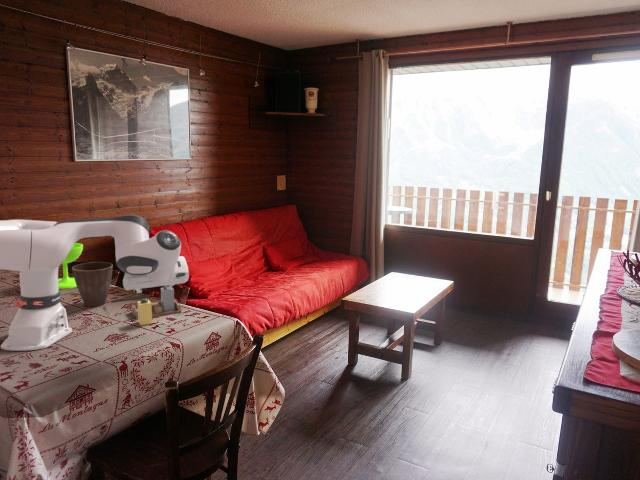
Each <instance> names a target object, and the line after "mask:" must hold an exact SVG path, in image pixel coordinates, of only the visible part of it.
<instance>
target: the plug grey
mask: <svg viewBox="0 0 640 480" xmlns="http://www.w3.org/2000/svg"><path fill="white" fill-rule="evenodd" d="M174 299H175V289H174V287H173V286H172V287H171V289H166V287H165V285H164V286H163V287H160V301H161V307H162V311H163V312H170V311H174Z"/></svg>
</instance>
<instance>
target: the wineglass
mask: <svg viewBox="0 0 640 480" xmlns="http://www.w3.org/2000/svg"><path fill="white" fill-rule="evenodd" d="M83 250H84V244H83V243H78V242H75V243H74V245H73V247H72V249H71V250H70V252H69V254H68V256H67V257H66V259H65V260H64V262H63V263H62V264H61V265H62V274H63V277H62V278H58V286H59V290H64V289H67V288H68V289H73V288H77V285H76V282H75V279H74V277H70V276H69V272H68V271H69V269H68V268H69V267H68V264H70V263H72V262H75V261H76V260H77V259H78V258H79V257H80V256H81V255H82V252H83ZM68 289H67V290H68Z"/></svg>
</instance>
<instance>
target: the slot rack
mask: <svg viewBox="0 0 640 480" xmlns="http://www.w3.org/2000/svg"><path fill="white" fill-rule="evenodd" d="M150 302H151V301H150ZM151 303H152V318H157V317H163V316H168V315H169V316H170V315H175V314H181V313H182V307H181V303H179V302H178V301H177V300H176V299H175V298H174V311H170V312H163V311H162V307H161V300H159V301H154V302H151ZM131 313H132V315H133V316H134V317H135V319H136V320H137V321H138V303H137V304H132V305H131Z"/></svg>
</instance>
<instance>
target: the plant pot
mask: <svg viewBox="0 0 640 480" xmlns="http://www.w3.org/2000/svg"><path fill="white" fill-rule="evenodd" d="M113 267H114V266H113V264H112V263H111V262H105V261H94V262H92V261H91V262H85V263H84V262H83V263H79V264H76V265H73V266H72V267H71V272H72V275H73V278H74V279H75V282H76V285H77V287H76V288H77V290H78V292H79V295H80V297H81V300H82V301H83V303H84V305H85V306H86V307H91V308H92V307H99V306H102V305H105V304H106V302H107V298H108V294H109V291H110V289H111V288H110V287H111V283H112V276H113Z"/></svg>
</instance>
